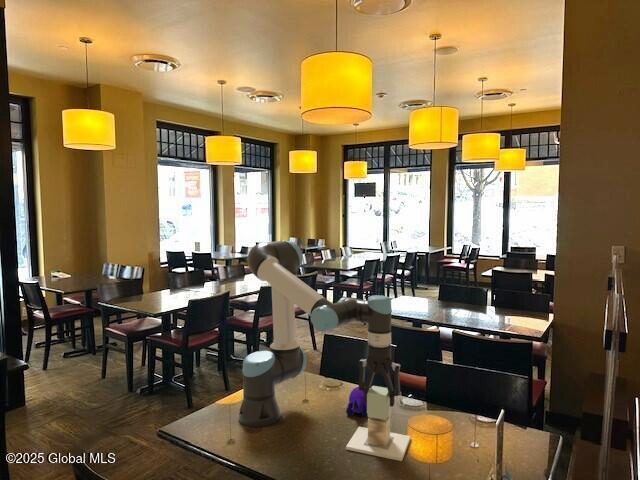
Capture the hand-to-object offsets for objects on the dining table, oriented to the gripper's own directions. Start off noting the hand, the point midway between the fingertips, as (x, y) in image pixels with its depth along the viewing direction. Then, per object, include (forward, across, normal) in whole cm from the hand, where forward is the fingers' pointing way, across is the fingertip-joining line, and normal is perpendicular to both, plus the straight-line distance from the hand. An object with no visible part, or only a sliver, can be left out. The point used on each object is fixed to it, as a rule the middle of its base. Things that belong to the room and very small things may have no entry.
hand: (379, 413), depth 144 cm
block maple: (+9, 0, 0) cm, 9 cm away
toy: (+11, -13, +19) cm, 25 cm away
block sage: (0, 0, 0) cm, 0 cm away
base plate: (+10, 0, 0) cm, 10 cm away
